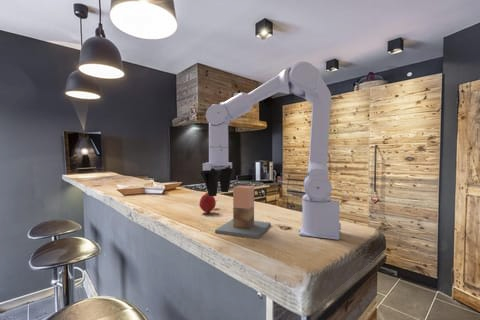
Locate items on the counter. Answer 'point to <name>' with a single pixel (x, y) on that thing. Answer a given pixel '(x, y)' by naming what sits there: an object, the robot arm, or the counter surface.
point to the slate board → (251, 233)
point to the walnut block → (243, 218)
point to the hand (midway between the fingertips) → (218, 193)
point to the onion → (207, 203)
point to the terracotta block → (243, 197)
